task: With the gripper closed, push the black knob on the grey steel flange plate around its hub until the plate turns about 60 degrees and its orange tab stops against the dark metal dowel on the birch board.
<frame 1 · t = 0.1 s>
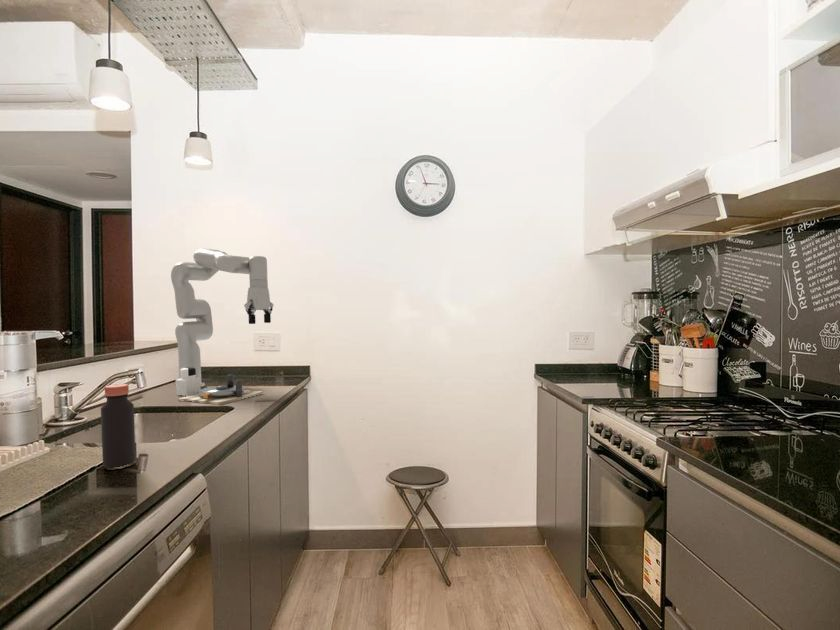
hand: (259, 323, 208), 31 cm above the countertop, tool pointing down, fingers open, 9 cm apart
base board: (222, 397, 201), on the countertop
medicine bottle: (188, 395, 208), on the countertop
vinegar: (119, 467, 116), on the countertop
flange plate: (219, 385, 200), point 5 cm above the countertop, hinge at 0.0°
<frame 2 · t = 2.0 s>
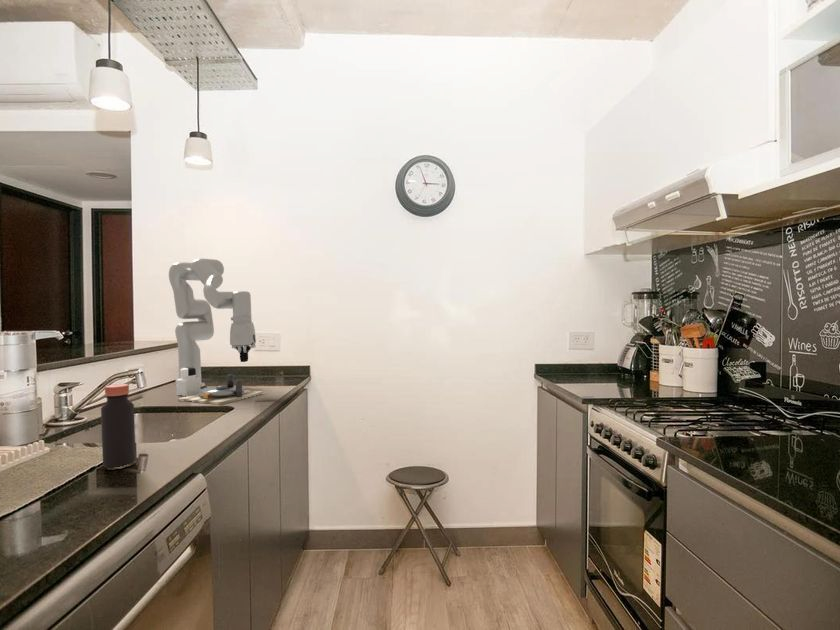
hand: (244, 361, 206), 15 cm above the countertop, tool pointing down, fingers closed
nothing on the countertop moved.
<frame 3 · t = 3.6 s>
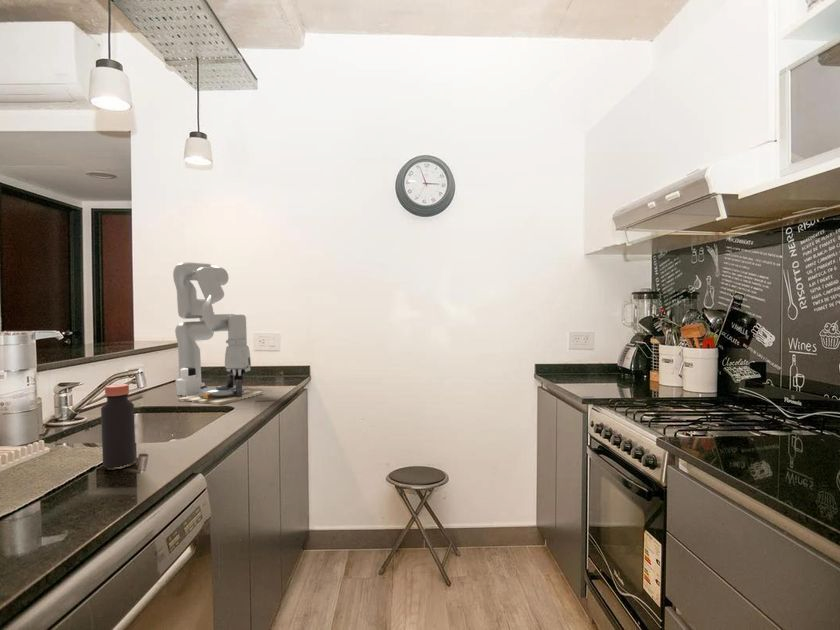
hand: (238, 384, 207), 4 cm above the countertop, tool pointing down, fingers closed
flange plate: (219, 385, 200), point 5 cm above the countertop, hinge at 0.2°, touching gripper
everything else where it was.
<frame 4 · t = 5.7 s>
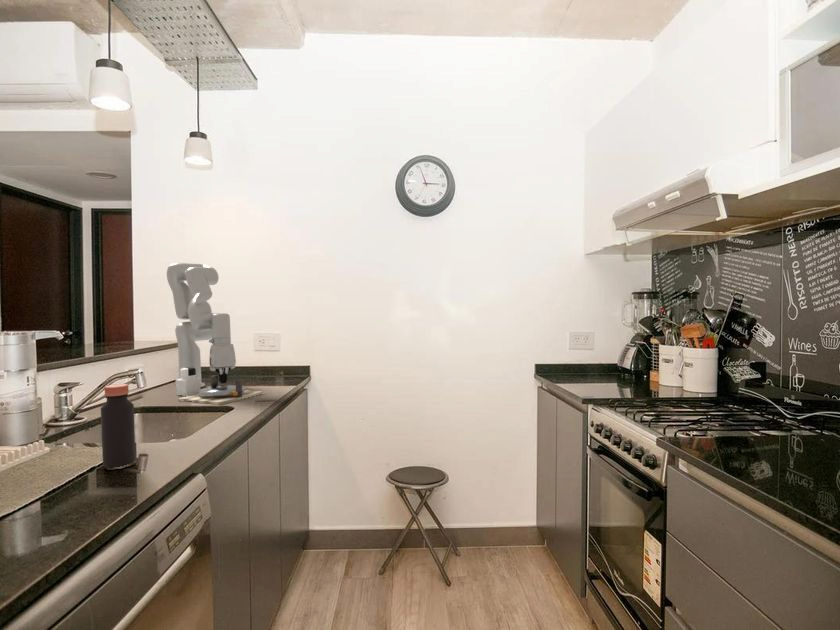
hand: (223, 382, 207), 5 cm above the countertop, tool pointing down, fingers closed
flange plate: (222, 385, 200), point 5 cm above the countertop, hinge at 58.9°, touching base board, gripper
everything else where it was.
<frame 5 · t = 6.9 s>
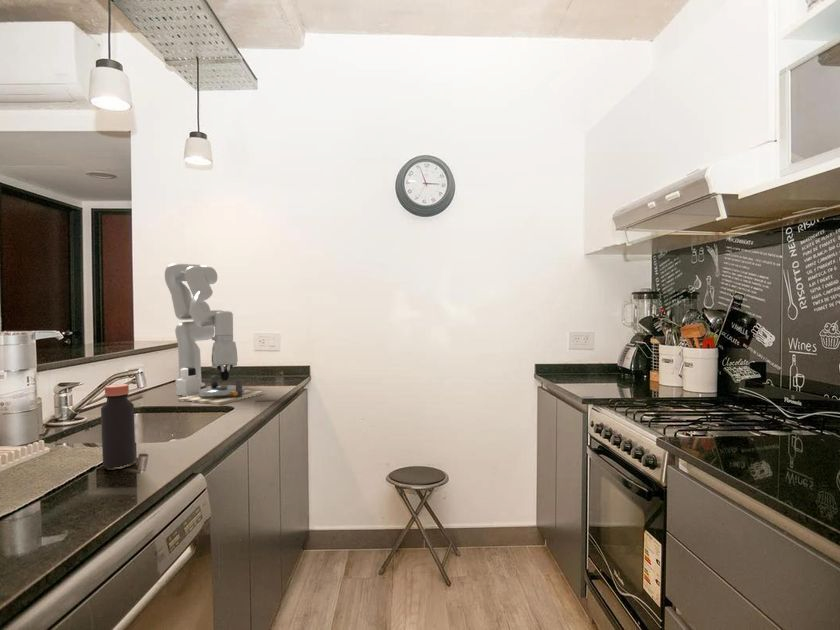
hand: (224, 380, 210), 6 cm above the countertop, tool pointing down, fingers closed
flange plate: (222, 385, 200), point 5 cm above the countertop, hinge at 58.9°, touching base board
everything else where it was.
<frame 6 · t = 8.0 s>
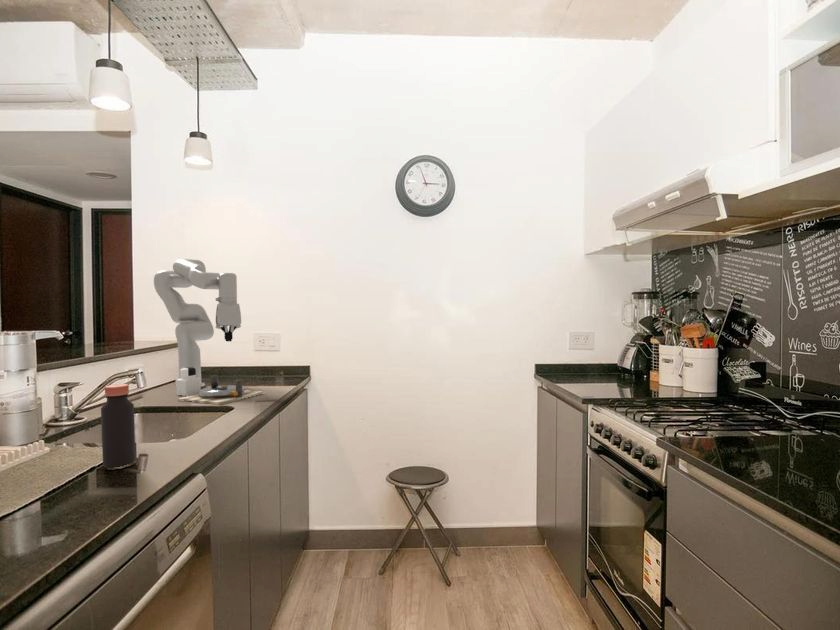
hand: (228, 341, 212), 23 cm above the countertop, tool pointing down, fingers closed
nothing on the countertop moved.
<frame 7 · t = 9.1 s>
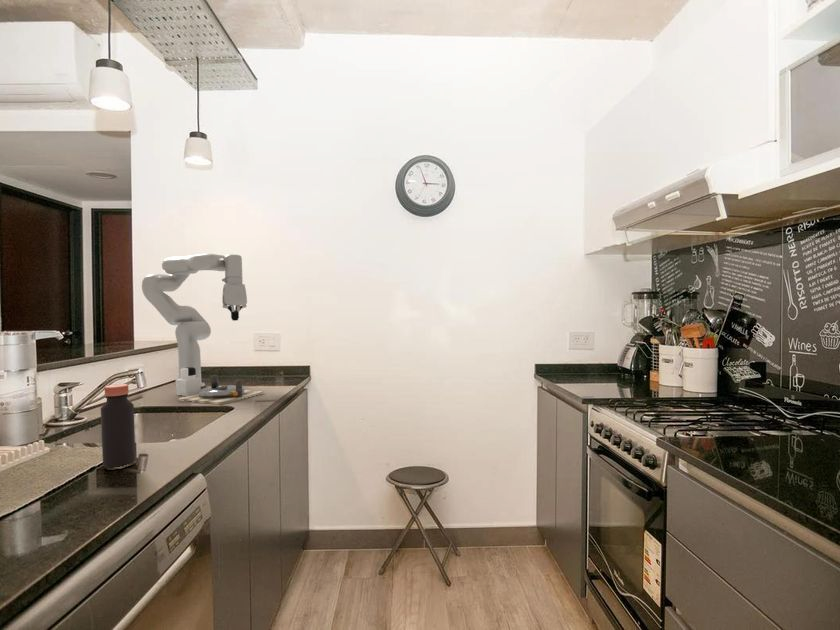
hand: (235, 320, 221), 32 cm above the countertop, tool pointing down, fingers closed
nothing on the countertop moved.
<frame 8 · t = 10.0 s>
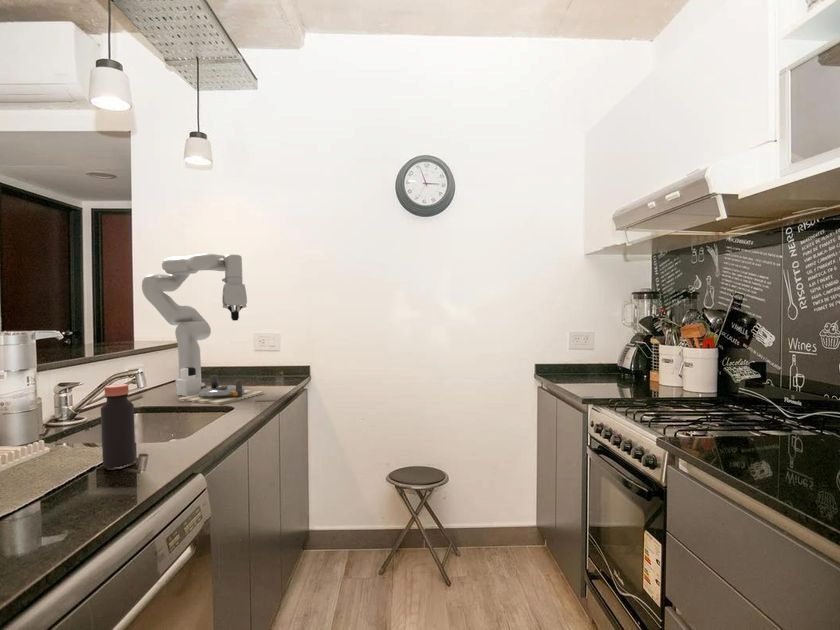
hand: (235, 320, 221), 32 cm above the countertop, tool pointing down, fingers closed
nothing on the countertop moved.
at the end: flange plate at +59° (first picture: +0°); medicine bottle moved 0.2 cm from its start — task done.
